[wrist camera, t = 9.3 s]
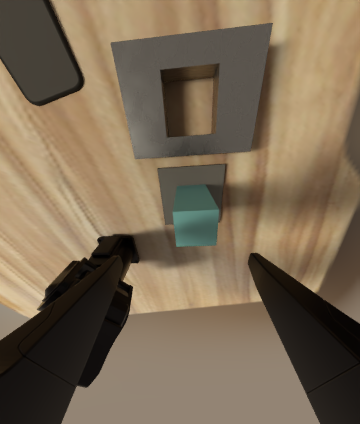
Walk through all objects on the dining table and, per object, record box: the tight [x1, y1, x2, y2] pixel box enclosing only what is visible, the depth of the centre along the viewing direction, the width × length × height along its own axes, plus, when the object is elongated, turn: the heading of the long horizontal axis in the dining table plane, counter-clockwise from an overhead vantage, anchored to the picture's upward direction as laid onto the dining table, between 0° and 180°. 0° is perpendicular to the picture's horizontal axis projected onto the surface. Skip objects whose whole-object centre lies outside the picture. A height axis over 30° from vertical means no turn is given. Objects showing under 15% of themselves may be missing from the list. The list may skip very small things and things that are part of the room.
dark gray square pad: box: [158, 164, 225, 225], centre depth 19 cm, size 9×9×1 cm
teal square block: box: [173, 184, 219, 247], centre depth 15 cm, size 4×4×8 cm
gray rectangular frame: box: [111, 23, 273, 159], centre depth 13 cm, size 9×13×2 cm
